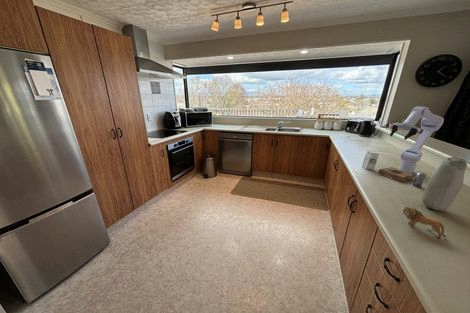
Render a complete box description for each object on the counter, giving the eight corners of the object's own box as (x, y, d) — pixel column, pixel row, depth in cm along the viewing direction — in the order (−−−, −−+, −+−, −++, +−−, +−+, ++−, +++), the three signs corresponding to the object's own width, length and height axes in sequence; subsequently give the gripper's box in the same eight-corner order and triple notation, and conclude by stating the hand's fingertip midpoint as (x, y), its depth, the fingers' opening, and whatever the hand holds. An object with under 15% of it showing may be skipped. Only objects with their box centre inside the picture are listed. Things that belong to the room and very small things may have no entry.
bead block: (390, 171, 133) (391, 167, 132) (412, 179, 121) (414, 174, 119) (378, 173, 129) (379, 169, 127) (400, 181, 116) (401, 177, 115)
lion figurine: (398, 224, 77) (405, 207, 74) (397, 218, 81) (404, 202, 78) (447, 241, 68) (457, 223, 65) (443, 234, 72) (453, 216, 69)
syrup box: (369, 167, 140) (374, 150, 135) (373, 170, 134) (379, 152, 129) (361, 166, 140) (366, 150, 135) (366, 169, 135) (371, 152, 130)
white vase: (451, 216, 83) (480, 163, 73) (422, 209, 88) (446, 158, 78) (442, 206, 91) (467, 157, 81) (415, 200, 96) (437, 153, 86)
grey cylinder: (414, 184, 114) (419, 171, 111) (422, 187, 110) (428, 174, 107) (410, 185, 112) (416, 172, 109) (418, 188, 109) (424, 175, 106)
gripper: (397, 115, 115) (384, 130, 115) (426, 119, 104) (411, 136, 103) (397, 122, 120) (385, 136, 119) (425, 127, 108) (411, 143, 108)
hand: (397, 137), depth 112 cm, fingers open, 7 cm apart
